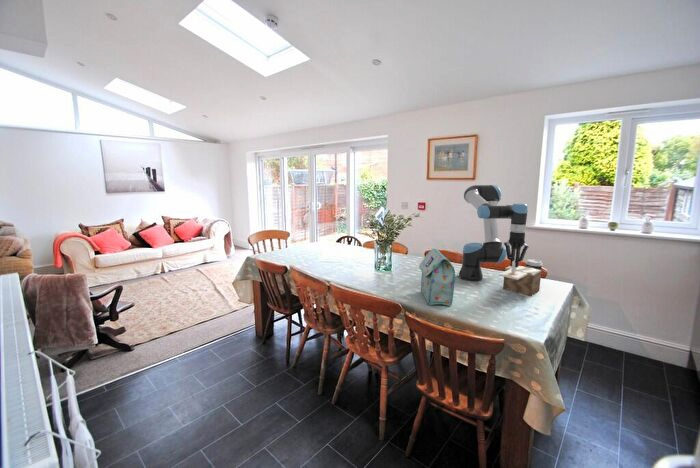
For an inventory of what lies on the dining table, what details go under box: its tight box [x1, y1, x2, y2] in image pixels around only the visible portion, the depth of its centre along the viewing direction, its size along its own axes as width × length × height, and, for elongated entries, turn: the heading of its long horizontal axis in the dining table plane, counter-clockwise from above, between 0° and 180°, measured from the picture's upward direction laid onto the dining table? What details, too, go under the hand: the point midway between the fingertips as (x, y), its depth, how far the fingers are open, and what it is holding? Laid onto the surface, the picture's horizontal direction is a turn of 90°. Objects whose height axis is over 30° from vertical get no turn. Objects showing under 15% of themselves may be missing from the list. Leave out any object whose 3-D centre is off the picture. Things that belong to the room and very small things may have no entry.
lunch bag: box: [418, 248, 456, 307], centre depth 176 cm, size 23×16×27 cm
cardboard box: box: [502, 265, 542, 297], centre depth 190 cm, size 16×12×13 cm
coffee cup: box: [525, 258, 544, 270], centre depth 201 cm, size 10×10×15 cm
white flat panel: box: [498, 270, 527, 280], centre depth 180 cm, size 10×13×1 cm
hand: (513, 272), depth 180 cm, fingers closed
